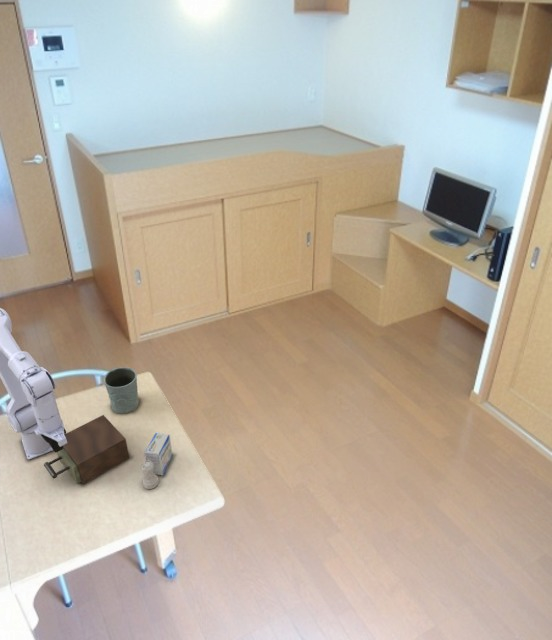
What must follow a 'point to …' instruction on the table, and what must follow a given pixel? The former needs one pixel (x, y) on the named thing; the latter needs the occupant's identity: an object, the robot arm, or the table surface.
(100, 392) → the table surface
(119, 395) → the grey-green pot
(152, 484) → the rook chess piece
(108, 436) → the cabinet
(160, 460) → the medicine box
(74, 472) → the drawer
